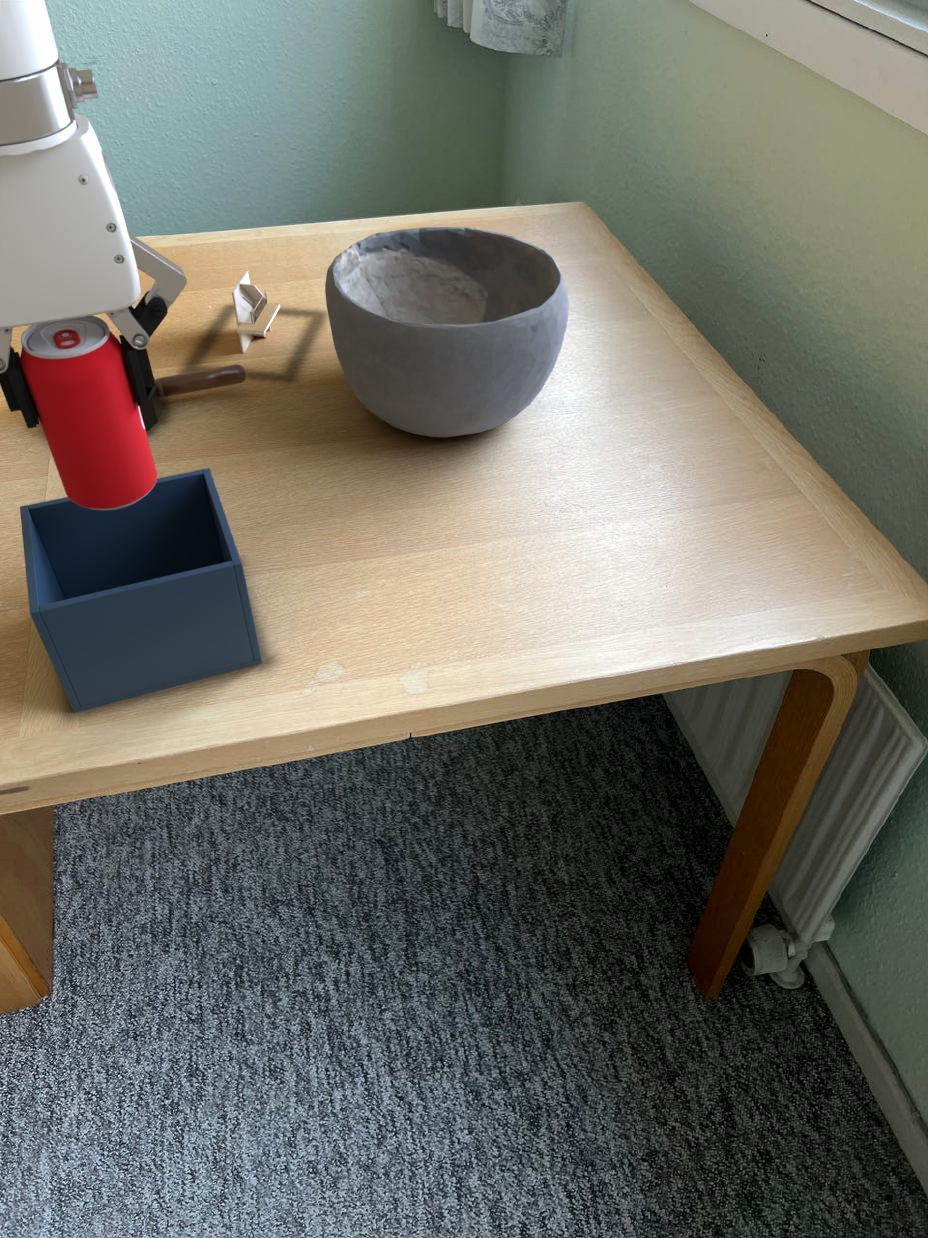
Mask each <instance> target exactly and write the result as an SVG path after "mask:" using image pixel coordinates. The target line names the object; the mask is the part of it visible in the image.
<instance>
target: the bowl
mask: <svg viewBox="0 0 928 1238" xmlns="http://www.w3.org/2000/svg"><path fill="white" fill-rule="evenodd" d="M324 286H325V287H324V293H325V302H326V310H327V314H328V320H329V325H330V326H329V327H330V331H331V336H332V341H333V346H334V349H335V354H336V357H337V359H338V362H339V365H340V368H341V371H342V373H343V376H344V379H345V380H346V382H347V385H348V386H349V388H350V389H351V391H352V392H353V394H354V395H355V397H356V398H357V400H359V402H360V403H361V404H362V405H363V406H364V407H365V408H366V409H367V410H368V411H369V412H371V413H372V414H373V415H374V416H376V417H378V418H379V419H380V420H382V421H384V422H385V423H387V425H390V426H391V427H393V428H395V429H397V430H401V431H404V432H406V433H409V434H413V435H419V436H425V437H430V438H453V437H458V436H467V435H472V434H473V435H474V434H479V433H482V432H486V431H489V430H492V429H494V428H497V427H499V426H503V425H504V424H506V423H507V422H509V421H510V420H512V419H514V418H515V417H517V416H518V415H519V414H520V413H522V412H523V411H524V410H525V409H527V408H528V407H529V406H530V405H531V404H532V402H533V401H534V400H535V399H536V397H537V396H538V395H539V394H540V393H541V391H542V390H543V388H544V386H545V385H546V382H547V381H548V379H549V377H550V376H551V375H552V373H553V370H554V368H555V365H556V363H557V360H558V358H559V355H560V352H561V349H562V346H563V342H564V339H565V335H566V331H567V328H568V319H569V311H570V300H569V293H568V292H569V291H568V286H567V281H566V280H565V277H564V274H563V271H562V270H561V267H560V266H559V264H558V263H557V261H556V260H555V259H554V258H553V256H552V255H551V254H550V253H549V252H547V251H546V250H545V249H542V248H540V247H538V246H537V245H534V244H532V243H530V242H527V241H525V240H522V239H519V238H517V237H515V236H513V235H512V236H511V235H508V234H503V233H500V232H496V231H493V230H488V229H479V228H476V227H466V226H465V227H464V226H463V227H462V226H436V227H435V226H428V227H427V226H426V227H424V226H423V227H415V228H414V227H413V228H404V229H403V228H402V229H396V230H391V231H383V232H375V233H372V234H370V235H368V236H366V237H364V238H363V239H361V240H358V241H356V242H354V243H352V244H350V246H348V247H347V248H345V249H344V250H342V252H340V253H339V254H338V255H336V256H335V257H334V259H333V260H332V262H331V263H330V265H329V266H328V268H327V270H326V276H325V283H324Z"/></svg>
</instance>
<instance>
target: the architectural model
mask: <svg viewBox="0 0 928 1238" xmlns="http://www.w3.org/2000/svg"><path fill="white" fill-rule="evenodd" d="M231 296H232V302H233V308H234V314H235V319H236V327H237V328H236V333H237V334H238V338H239V344H240V345H239V346H240V350H241V354H245V352H246V350H247V348H248V347H249V345H250V344H251V343H252V340H253V339H254V338H255V337H260V338H264V339H267V332H269V333H270V332H272V327H271V324H272V322H273V320H274V318H275V317H276V315H277V313H278V311H279V310H280V308H281V304H280V303H273V302H269V300H268V292H267V290H264V293H262V292H261V290H260V289H259V288H258V287H257V286H256V284H253V283H251V280H250V273H249V270H245V271H244V273H243V274H242V276H241V278H240V279H239V281H238V282H237V284H236V286H235V287H234V288H233V290H232V291H231Z"/></svg>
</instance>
